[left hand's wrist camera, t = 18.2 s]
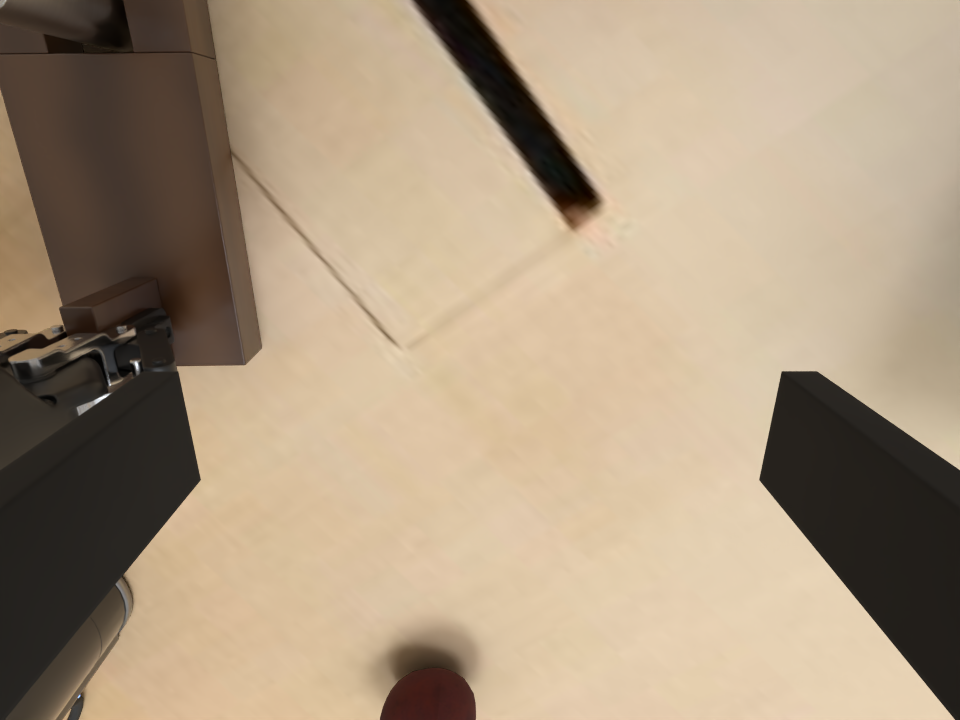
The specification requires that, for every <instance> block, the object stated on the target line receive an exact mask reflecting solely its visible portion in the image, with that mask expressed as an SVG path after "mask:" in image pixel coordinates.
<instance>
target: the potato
mask: <svg viewBox="0 0 960 720" xmlns="http://www.w3.org/2000/svg"><path fill="white" fill-rule="evenodd" d="M380 720H476V705H475V698H474V694H473V692H472V690H471V688H470V687H469V685H468V683H467V682H466V681H465V679H464V678H462V677H461V676H459V675H458V674H456V673H454V672H452V671H450V670H447V669H444V668H427V669H422V670H417V671H413V672H411V673H410V674H408V675H406V676H405V677H403V678H402V679H401V680H400V681H399V682H397V684H396V685H395V686H394V687H393V688H392V690H391V691H390V693H389V695H388V697H387V699H386V701H385V703H384V706H383V709H382V713H381V717H380Z"/></svg>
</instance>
